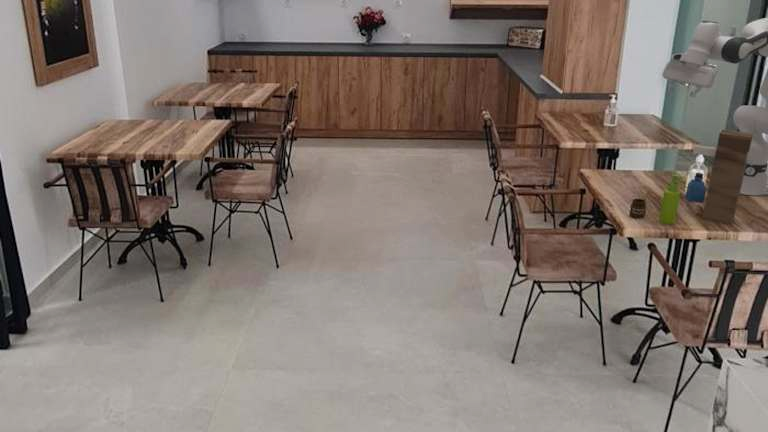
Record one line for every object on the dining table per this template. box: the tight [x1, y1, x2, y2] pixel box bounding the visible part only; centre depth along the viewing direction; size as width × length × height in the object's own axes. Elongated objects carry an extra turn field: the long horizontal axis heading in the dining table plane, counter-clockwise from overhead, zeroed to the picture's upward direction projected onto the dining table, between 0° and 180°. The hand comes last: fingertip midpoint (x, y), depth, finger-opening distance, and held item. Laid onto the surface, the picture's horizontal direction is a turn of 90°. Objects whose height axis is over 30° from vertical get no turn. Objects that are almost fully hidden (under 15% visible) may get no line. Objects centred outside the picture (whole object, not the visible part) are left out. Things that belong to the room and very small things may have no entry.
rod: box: [692, 144, 748, 160], centre depth 264 cm, size 3×20×3 cm, turn 57°
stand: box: [701, 129, 753, 226], centre depth 265 cm, size 9×11×36 cm
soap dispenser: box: [658, 173, 687, 225], centre depth 264 cm, size 6×7×20 cm
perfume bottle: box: [685, 172, 707, 203], centre depth 291 cm, size 6×6×12 cm
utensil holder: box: [629, 189, 651, 220], centre depth 270 cm, size 6×6×12 cm
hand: (680, 94), depth 266 cm, fingers open, 8 cm apart
